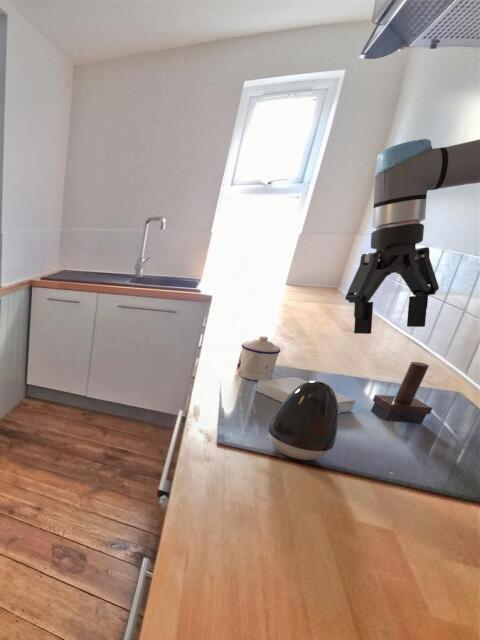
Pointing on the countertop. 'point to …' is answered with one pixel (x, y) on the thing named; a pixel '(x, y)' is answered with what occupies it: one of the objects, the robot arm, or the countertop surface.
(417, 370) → the scrub brush
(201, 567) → the countertop surface
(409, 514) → the countertop surface
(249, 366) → the teacup with lid
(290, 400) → the dark grey egg-shaped speaker
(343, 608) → the countertop surface
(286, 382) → the white tile
